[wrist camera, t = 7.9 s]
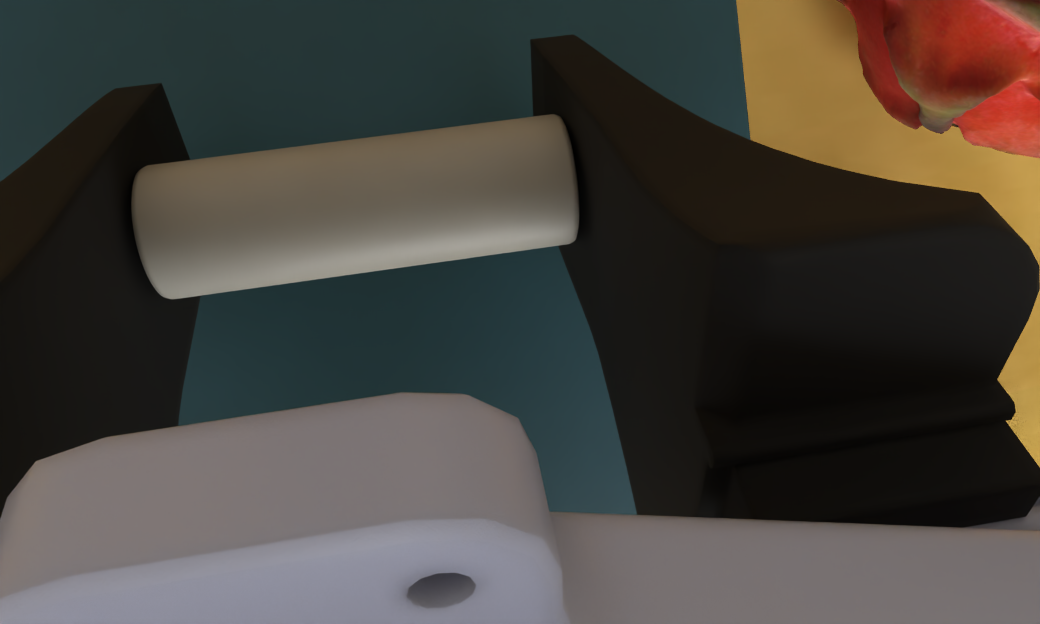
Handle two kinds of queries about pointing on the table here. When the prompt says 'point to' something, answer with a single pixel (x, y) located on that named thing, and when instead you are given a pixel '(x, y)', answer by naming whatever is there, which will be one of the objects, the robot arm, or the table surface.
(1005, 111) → the dragon fruit
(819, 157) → the table surface
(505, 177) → the cool box lid
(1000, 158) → the table surface
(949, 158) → the table surface
